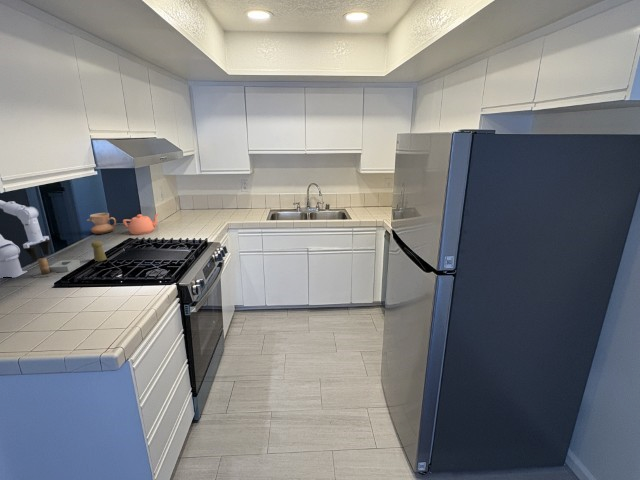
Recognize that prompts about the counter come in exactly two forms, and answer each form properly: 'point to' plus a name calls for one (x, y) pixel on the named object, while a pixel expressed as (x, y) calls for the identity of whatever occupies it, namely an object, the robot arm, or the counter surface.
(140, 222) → the teapot
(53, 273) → the pad
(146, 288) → the counter surface
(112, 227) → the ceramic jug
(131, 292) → the counter surface
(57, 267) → the socket
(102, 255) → the olive pepper mill
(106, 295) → the counter surface
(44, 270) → the peg
